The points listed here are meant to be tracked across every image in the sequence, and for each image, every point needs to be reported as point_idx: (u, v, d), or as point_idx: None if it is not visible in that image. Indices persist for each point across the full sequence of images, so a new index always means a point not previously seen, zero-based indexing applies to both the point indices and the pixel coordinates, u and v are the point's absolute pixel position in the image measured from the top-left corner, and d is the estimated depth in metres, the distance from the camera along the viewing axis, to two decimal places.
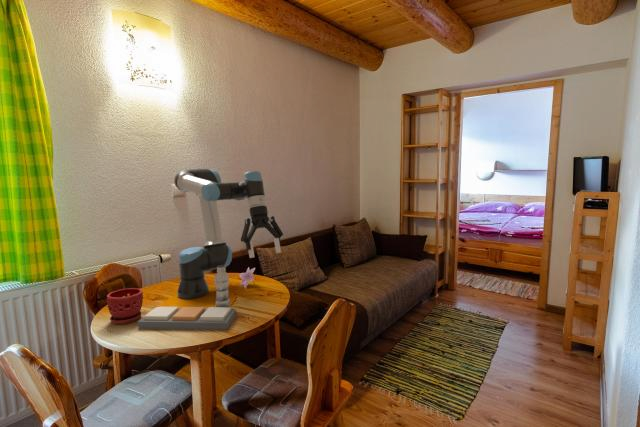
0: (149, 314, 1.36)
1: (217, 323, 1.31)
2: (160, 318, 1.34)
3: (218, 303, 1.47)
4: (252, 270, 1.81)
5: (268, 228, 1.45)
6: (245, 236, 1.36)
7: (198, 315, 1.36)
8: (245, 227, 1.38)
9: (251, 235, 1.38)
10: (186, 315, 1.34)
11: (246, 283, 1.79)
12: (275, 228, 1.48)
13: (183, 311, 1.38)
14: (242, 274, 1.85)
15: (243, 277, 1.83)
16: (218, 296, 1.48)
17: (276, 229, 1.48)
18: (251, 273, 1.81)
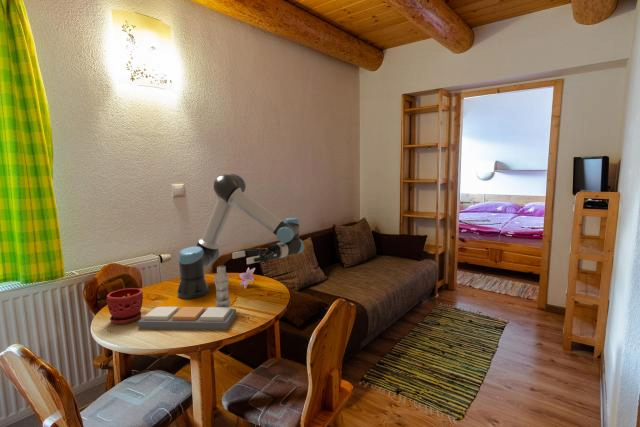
0: (149, 314, 1.36)
1: (217, 323, 1.31)
2: (160, 318, 1.34)
3: (218, 303, 1.47)
4: (252, 270, 1.81)
5: (256, 253, 1.64)
6: None
7: (198, 315, 1.36)
8: (271, 256, 1.57)
9: None
10: (186, 315, 1.34)
11: (246, 283, 1.79)
12: None
13: (183, 311, 1.38)
14: (242, 274, 1.84)
15: (243, 277, 1.83)
16: (218, 296, 1.48)
17: None
18: (251, 273, 1.81)
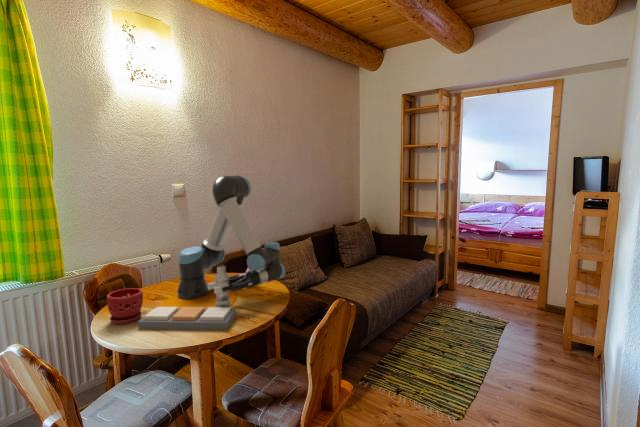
0: (149, 314, 1.36)
1: (217, 323, 1.31)
2: (160, 318, 1.34)
3: (218, 303, 1.47)
4: None
5: (234, 281, 1.56)
6: None
7: (198, 315, 1.36)
8: (244, 285, 1.50)
9: None
10: (186, 315, 1.34)
11: None
12: None
13: (183, 311, 1.38)
14: (242, 274, 1.84)
15: None
16: (218, 296, 1.48)
17: None
18: None
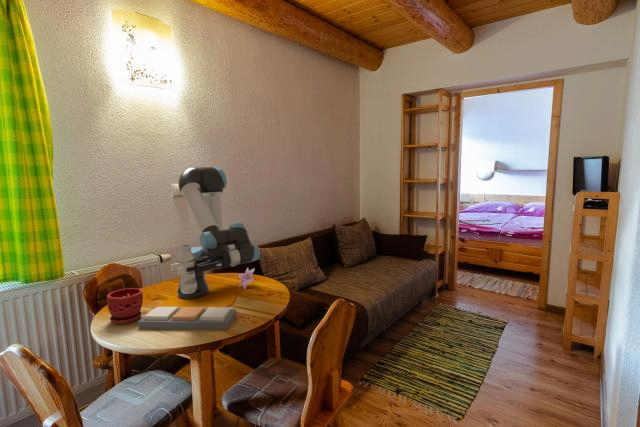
0: (149, 314, 1.36)
1: (217, 323, 1.31)
2: (160, 318, 1.34)
3: (183, 286, 1.33)
4: (252, 270, 1.80)
5: (202, 262, 1.42)
6: None
7: (198, 315, 1.36)
8: (212, 266, 1.36)
9: None
10: (186, 315, 1.34)
11: (245, 284, 1.78)
12: None
13: (183, 311, 1.38)
14: (241, 275, 1.83)
15: (242, 278, 1.82)
16: (182, 278, 1.34)
17: None
18: (250, 274, 1.80)
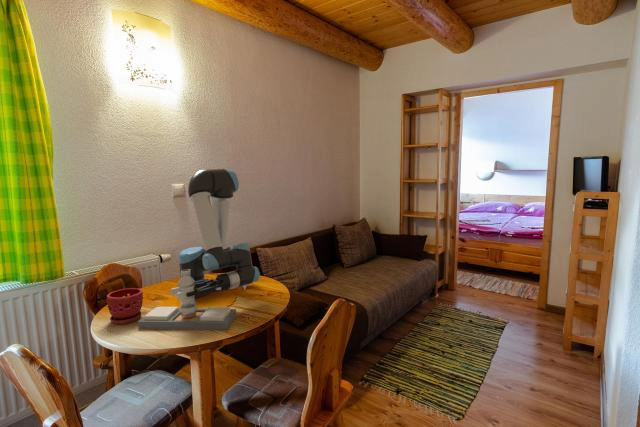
0: (149, 314, 1.36)
1: (217, 323, 1.31)
2: (160, 318, 1.34)
3: (183, 310, 1.35)
4: None
5: (202, 286, 1.43)
6: None
7: None
8: (212, 290, 1.38)
9: None
10: (187, 320, 1.34)
11: None
12: None
13: None
14: None
15: None
16: (182, 302, 1.35)
17: None
18: None
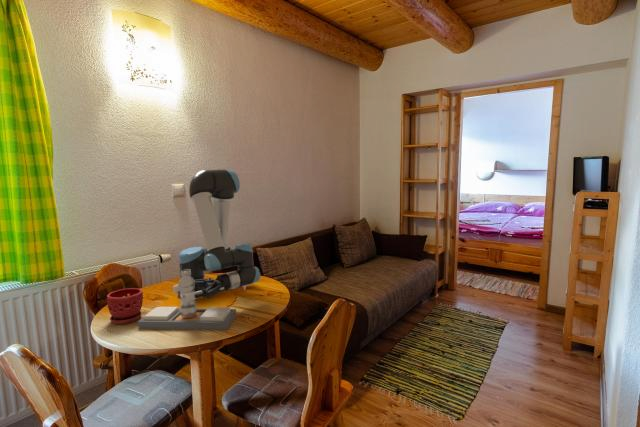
0: (149, 314, 1.36)
1: (217, 323, 1.31)
2: (160, 318, 1.34)
3: (183, 310, 1.35)
4: None
5: (202, 285, 1.45)
6: None
7: None
8: (217, 290, 1.38)
9: None
10: (187, 320, 1.34)
11: None
12: None
13: None
14: None
15: None
16: (182, 303, 1.35)
17: None
18: None
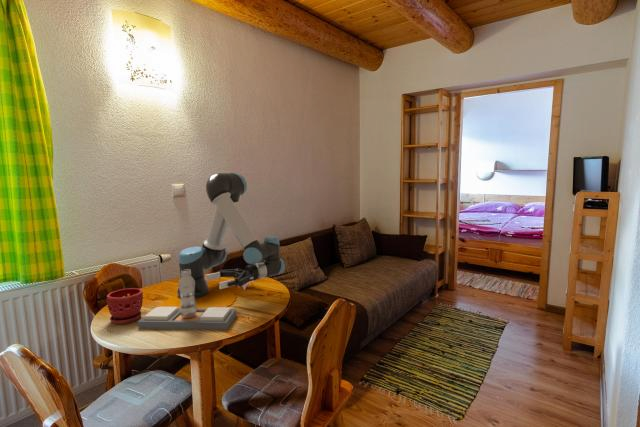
0: (149, 314, 1.36)
1: (217, 323, 1.31)
2: (160, 318, 1.34)
3: (183, 310, 1.35)
4: None
5: (232, 274, 1.54)
6: None
7: None
8: (247, 280, 1.46)
9: None
10: (187, 320, 1.34)
11: (245, 284, 1.77)
12: None
13: None
14: None
15: None
16: (182, 303, 1.35)
17: None
18: None
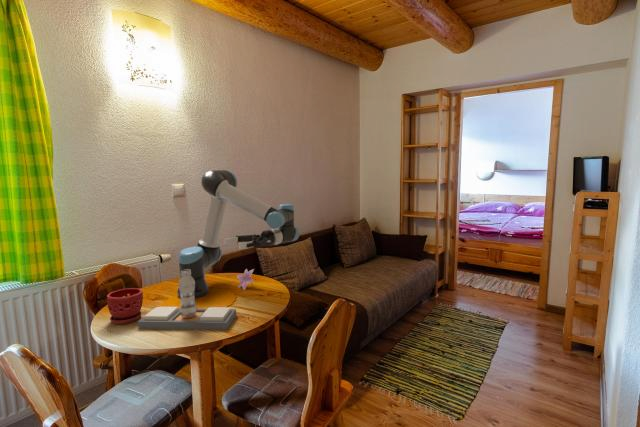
0: (149, 314, 1.36)
1: (217, 323, 1.31)
2: (160, 318, 1.34)
3: (183, 310, 1.35)
4: (251, 271, 1.79)
5: (249, 239, 1.59)
6: None
7: None
8: (265, 242, 1.51)
9: None
10: (187, 320, 1.34)
11: (245, 285, 1.76)
12: None
13: None
14: (240, 276, 1.82)
15: (241, 279, 1.81)
16: (182, 303, 1.35)
17: None
18: (250, 274, 1.78)
